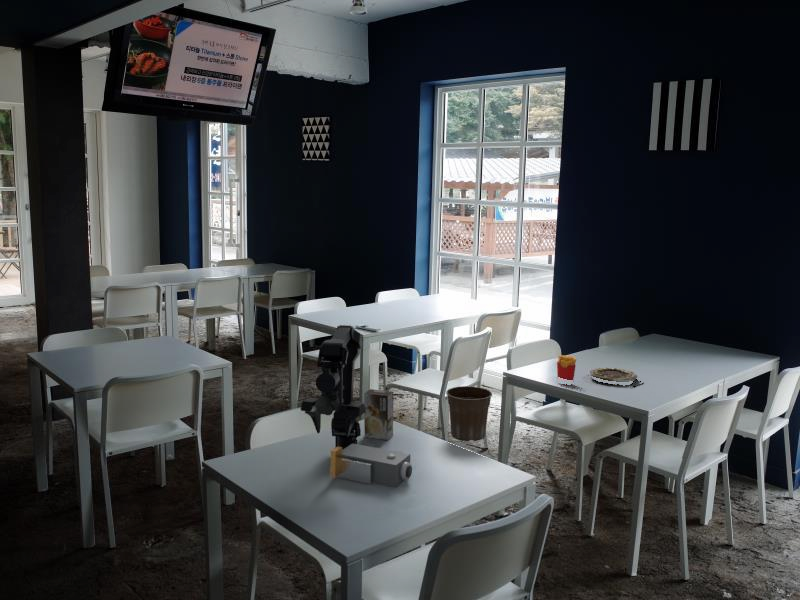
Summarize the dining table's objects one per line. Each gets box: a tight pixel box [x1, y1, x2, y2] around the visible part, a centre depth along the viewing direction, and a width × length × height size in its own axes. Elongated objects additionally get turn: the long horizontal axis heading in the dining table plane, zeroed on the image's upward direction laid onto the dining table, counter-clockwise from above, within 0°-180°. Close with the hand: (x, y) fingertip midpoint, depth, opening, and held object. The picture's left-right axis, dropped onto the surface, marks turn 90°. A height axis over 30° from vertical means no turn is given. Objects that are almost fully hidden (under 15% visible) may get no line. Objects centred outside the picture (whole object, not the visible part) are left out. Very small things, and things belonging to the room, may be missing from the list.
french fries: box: [556, 354, 577, 381], centre depth 327 cm, size 9×4×13 cm, turn 43°
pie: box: [589, 367, 638, 382], centre depth 335 cm, size 28×27×5 cm
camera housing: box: [342, 444, 413, 489], centre depth 215 cm, size 22×10×8 cm, turn 65°
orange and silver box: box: [330, 447, 373, 485], centre depth 210 cm, size 11×5×10 cm, turn 65°
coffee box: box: [363, 388, 394, 441], centre depth 251 cm, size 9×6×16 cm
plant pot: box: [446, 385, 493, 442], centre depth 253 cm, size 16×16×16 cm
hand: (332, 434), depth 213 cm, fingers open, 9 cm apart
